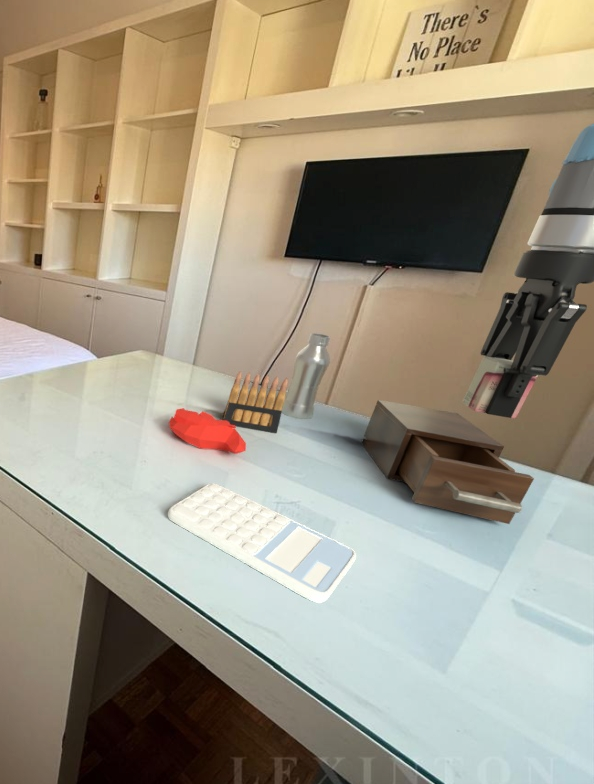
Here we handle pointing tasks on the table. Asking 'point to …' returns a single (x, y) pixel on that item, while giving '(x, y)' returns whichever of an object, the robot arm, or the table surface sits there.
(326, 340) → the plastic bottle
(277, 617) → the table surface
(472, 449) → the drawer
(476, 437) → the cabinet
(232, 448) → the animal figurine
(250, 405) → the ammunition clip
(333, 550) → the calculator
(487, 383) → the small box
